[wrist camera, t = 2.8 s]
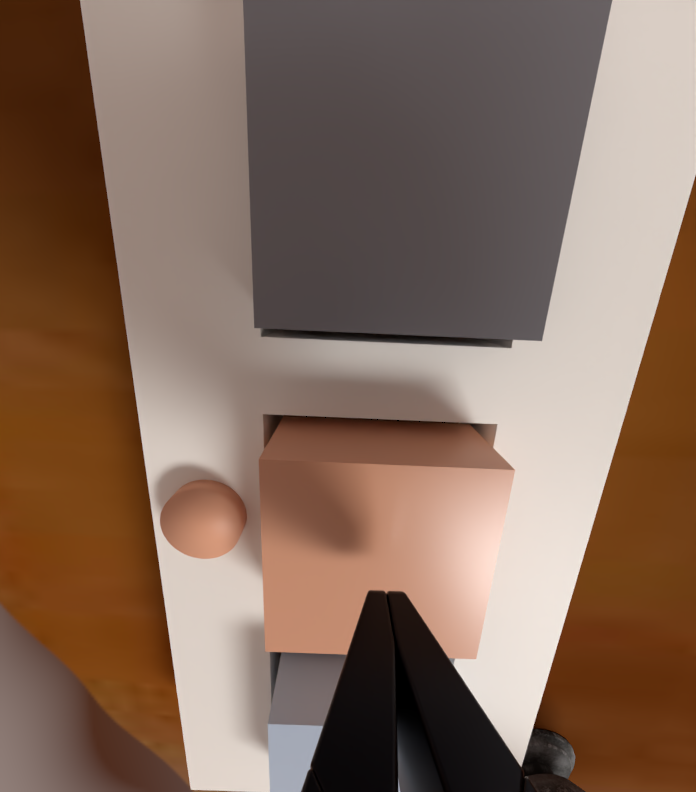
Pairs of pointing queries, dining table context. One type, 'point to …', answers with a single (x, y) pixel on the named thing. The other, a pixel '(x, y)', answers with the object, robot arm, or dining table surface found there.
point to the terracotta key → (378, 528)
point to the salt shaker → (549, 762)
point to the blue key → (299, 715)
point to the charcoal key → (414, 160)
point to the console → (365, 353)
